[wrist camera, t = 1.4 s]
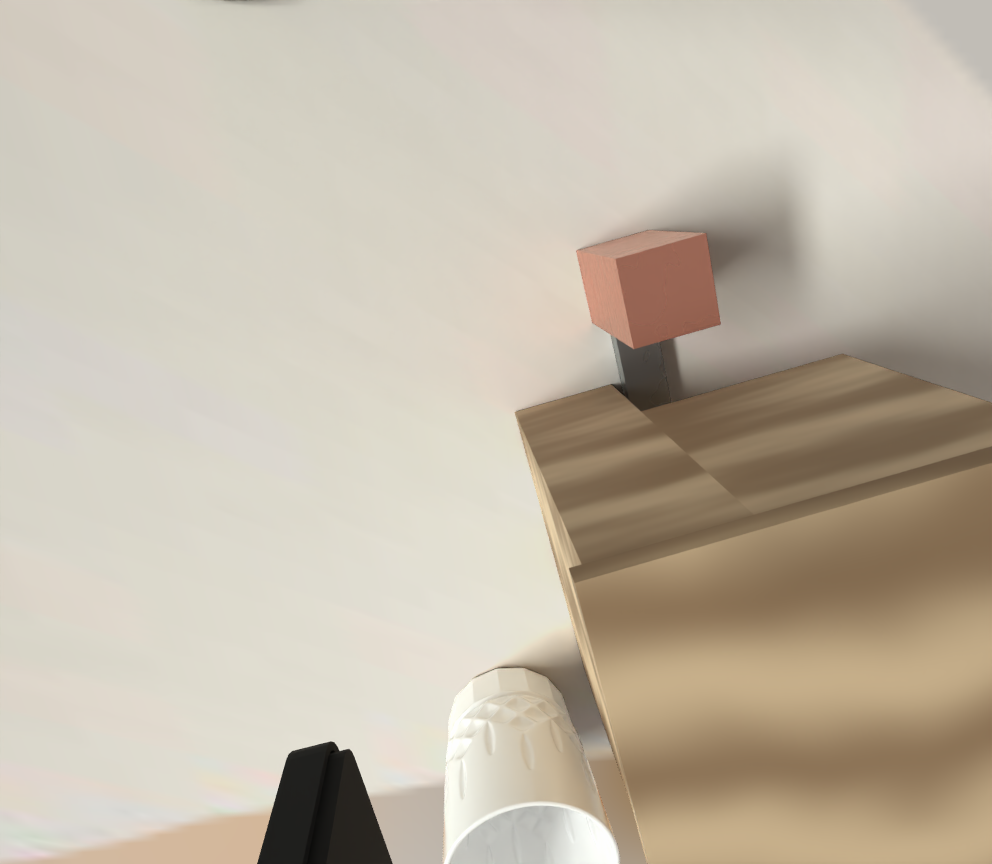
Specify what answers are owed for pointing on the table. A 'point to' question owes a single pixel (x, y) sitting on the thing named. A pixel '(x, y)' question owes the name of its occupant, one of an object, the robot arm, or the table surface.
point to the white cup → (520, 778)
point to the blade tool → (649, 302)
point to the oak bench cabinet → (784, 611)
